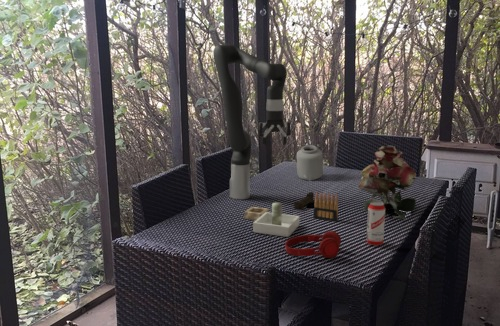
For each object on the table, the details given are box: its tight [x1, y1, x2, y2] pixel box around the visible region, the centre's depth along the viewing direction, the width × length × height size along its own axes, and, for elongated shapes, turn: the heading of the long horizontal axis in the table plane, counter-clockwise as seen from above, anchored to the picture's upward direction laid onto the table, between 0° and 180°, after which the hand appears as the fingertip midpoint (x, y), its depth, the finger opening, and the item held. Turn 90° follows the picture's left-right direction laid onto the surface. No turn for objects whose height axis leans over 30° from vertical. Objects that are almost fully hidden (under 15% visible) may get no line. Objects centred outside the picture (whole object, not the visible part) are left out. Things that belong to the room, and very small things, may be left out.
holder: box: [243, 206, 270, 221], centre depth 219 cm, size 8×8×3 cm
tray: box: [252, 211, 301, 238], centre depth 204 cm, size 15×15×4 cm
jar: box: [296, 137, 324, 181], centre depth 284 cm, size 19×15×25 cm
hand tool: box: [293, 191, 315, 211], centre depth 237 cm, size 19×4×5 cm, turn 149°
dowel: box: [271, 202, 283, 226], centre depth 204 cm, size 4×4×10 cm
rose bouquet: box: [357, 145, 417, 220], centre depth 228 cm, size 26×29×30 cm
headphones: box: [284, 230, 342, 259], centre depth 181 cm, size 15×7×20 cm
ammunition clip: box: [313, 191, 339, 223], centre depth 215 cm, size 11×2×12 cm, turn 63°
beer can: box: [365, 201, 386, 247], centre depth 187 cm, size 6×6×16 cm
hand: (274, 145), depth 225 cm, fingers open, 8 cm apart
